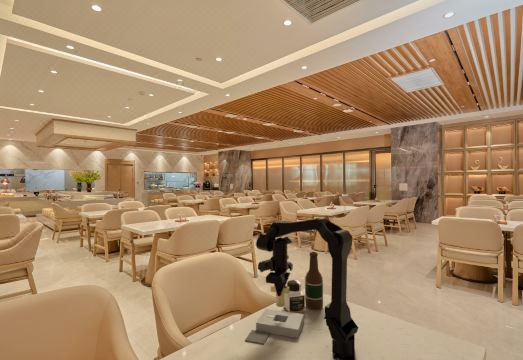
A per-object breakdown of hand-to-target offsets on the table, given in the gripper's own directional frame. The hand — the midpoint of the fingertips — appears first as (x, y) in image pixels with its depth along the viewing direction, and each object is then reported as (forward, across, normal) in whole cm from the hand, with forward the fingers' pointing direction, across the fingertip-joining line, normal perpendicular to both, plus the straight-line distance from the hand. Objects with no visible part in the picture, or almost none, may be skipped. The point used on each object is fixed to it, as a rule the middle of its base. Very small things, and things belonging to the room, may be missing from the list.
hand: (280, 294), depth 108 cm
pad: (+12, +10, -6) cm, 17 cm away
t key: (+4, 0, 0) cm, 4 cm away
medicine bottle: (+13, -16, +2) cm, 20 cm away
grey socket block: (+12, 0, 0) cm, 12 cm away
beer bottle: (+13, -21, +10) cm, 26 cm away
